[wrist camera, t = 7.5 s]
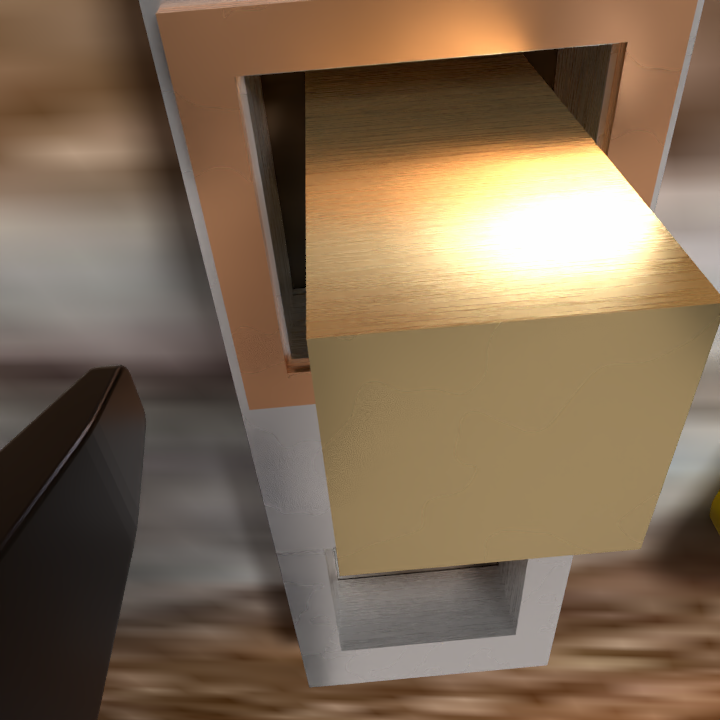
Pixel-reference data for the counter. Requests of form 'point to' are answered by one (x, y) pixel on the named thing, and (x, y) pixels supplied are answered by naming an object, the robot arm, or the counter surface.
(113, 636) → the robot arm
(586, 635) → the counter surface
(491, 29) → the rail bar
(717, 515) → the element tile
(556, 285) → the brass peg
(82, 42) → the counter surface
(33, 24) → the counter surface
